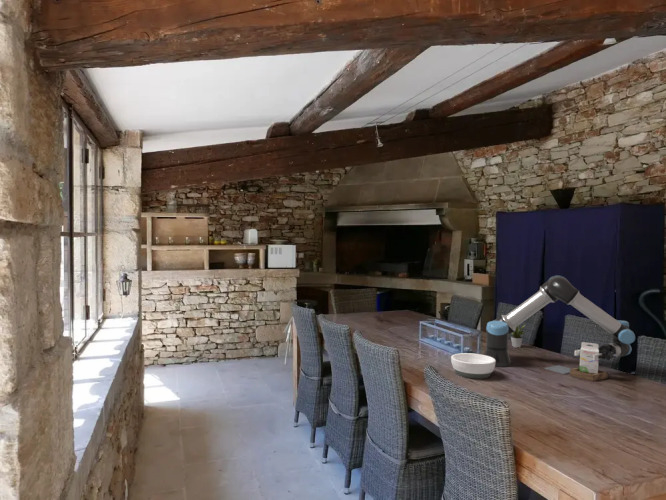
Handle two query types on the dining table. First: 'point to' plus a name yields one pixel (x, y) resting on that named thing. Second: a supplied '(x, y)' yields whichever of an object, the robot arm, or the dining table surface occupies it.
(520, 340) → the house plant
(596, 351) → the ink box
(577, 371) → the wooden tray
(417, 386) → the dining table surface
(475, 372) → the bowl
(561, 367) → the slate mat
